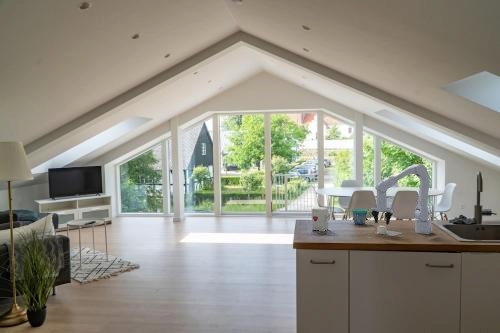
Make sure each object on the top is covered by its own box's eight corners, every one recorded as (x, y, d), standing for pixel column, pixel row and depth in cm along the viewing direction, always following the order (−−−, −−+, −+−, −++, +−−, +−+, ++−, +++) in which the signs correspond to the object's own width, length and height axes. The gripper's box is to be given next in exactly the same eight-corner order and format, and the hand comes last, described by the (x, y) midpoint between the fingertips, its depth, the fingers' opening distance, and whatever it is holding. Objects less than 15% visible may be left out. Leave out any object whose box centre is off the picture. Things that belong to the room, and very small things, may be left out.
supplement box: (311, 230, 286) (311, 208, 285) (315, 228, 294) (315, 206, 293) (324, 231, 281) (324, 209, 281) (328, 229, 289) (328, 207, 289)
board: (403, 235, 265) (403, 228, 265) (393, 238, 257) (393, 231, 257) (384, 232, 275) (384, 225, 275) (374, 235, 266) (373, 228, 266)
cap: (387, 232, 266) (387, 226, 266) (383, 234, 262) (383, 227, 262) (380, 231, 270) (380, 225, 269) (376, 233, 266) (376, 226, 266)
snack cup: (372, 223, 309) (372, 209, 309) (368, 225, 300) (368, 211, 300) (351, 221, 317) (351, 208, 317) (346, 224, 308) (346, 210, 308)
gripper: (367, 201, 268) (368, 223, 268) (389, 203, 257) (389, 225, 258) (374, 200, 273) (374, 221, 273) (395, 202, 262) (395, 224, 263)
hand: (382, 223), depth 266 cm, fingers open, 7 cm apart
